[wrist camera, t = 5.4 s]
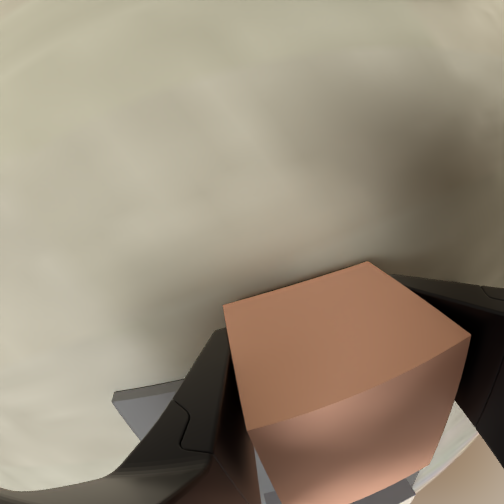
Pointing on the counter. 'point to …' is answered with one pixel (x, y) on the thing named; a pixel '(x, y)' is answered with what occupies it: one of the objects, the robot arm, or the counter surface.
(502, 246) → the counter surface
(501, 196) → the counter surface
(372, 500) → the grey flat tray
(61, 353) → the counter surface
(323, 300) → the stub
